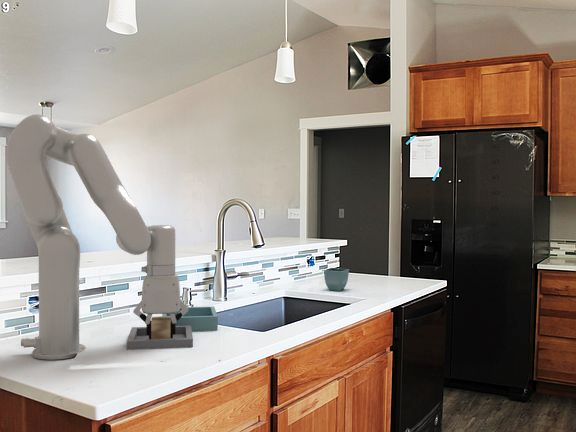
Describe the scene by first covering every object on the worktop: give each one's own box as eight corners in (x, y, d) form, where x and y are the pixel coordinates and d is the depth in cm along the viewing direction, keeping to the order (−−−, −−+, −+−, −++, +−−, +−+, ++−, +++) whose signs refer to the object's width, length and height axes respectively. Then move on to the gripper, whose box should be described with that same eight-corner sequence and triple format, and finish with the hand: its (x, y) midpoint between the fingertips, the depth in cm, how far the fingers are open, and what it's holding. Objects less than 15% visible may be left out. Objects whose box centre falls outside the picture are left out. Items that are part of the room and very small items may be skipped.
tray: (161, 335, 168) (161, 318, 168) (162, 323, 183) (163, 307, 183) (217, 333, 171) (217, 316, 171) (214, 321, 186) (214, 306, 186)
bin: (126, 353, 148) (126, 341, 148) (131, 337, 164) (131, 327, 164) (192, 350, 151) (192, 339, 151) (191, 335, 168) (191, 325, 167)
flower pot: (342, 292, 248) (342, 271, 248) (323, 290, 252) (323, 270, 252) (349, 289, 256) (349, 269, 256) (330, 287, 260) (330, 267, 260)
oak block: (151, 342, 155) (151, 320, 155) (151, 338, 160) (152, 316, 160) (170, 342, 156) (170, 319, 156) (170, 337, 161) (170, 316, 161)
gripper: (127, 273, 152) (127, 342, 152) (193, 272, 155) (193, 339, 156) (129, 269, 159) (129, 335, 160) (192, 268, 163) (192, 333, 163)
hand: (161, 336), depth 158 cm, fingers closed on oak block, 4 cm apart
